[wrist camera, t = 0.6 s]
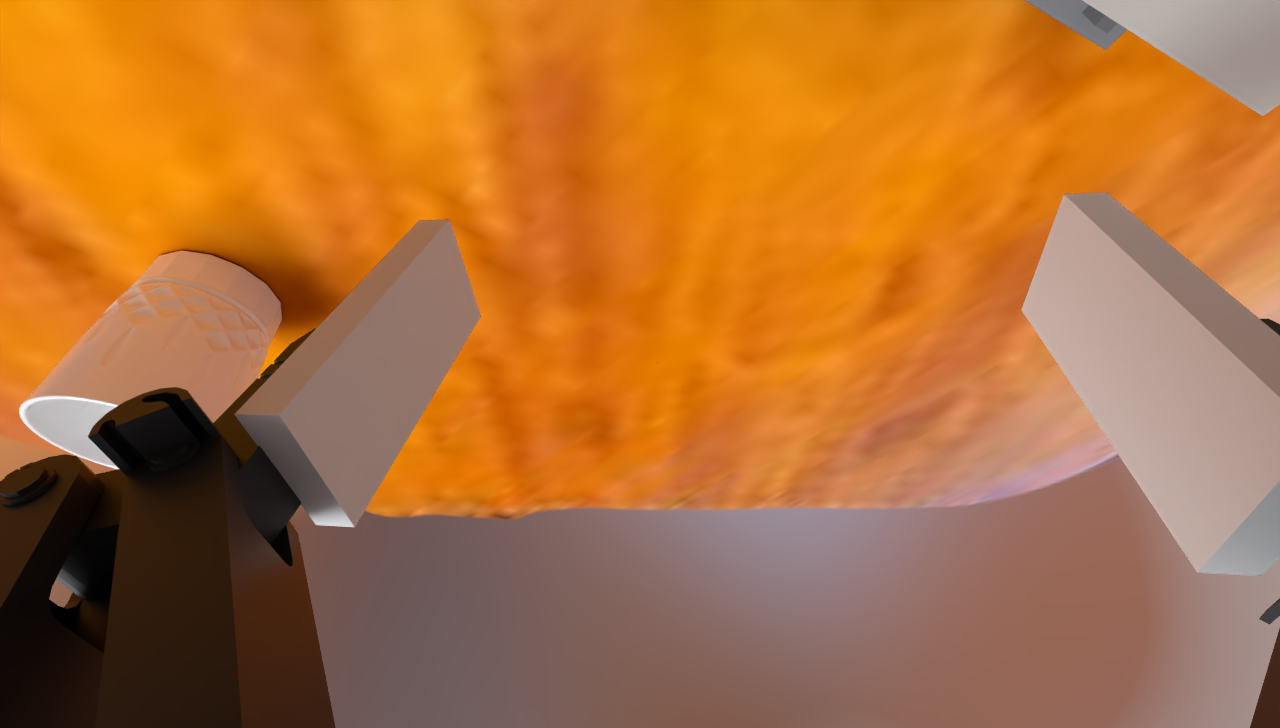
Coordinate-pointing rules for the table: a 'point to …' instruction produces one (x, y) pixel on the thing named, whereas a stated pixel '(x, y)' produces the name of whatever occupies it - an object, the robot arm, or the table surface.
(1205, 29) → the block
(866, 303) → the table surface
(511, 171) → the table surface
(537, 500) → the table surface
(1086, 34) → the board
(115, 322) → the white cup
